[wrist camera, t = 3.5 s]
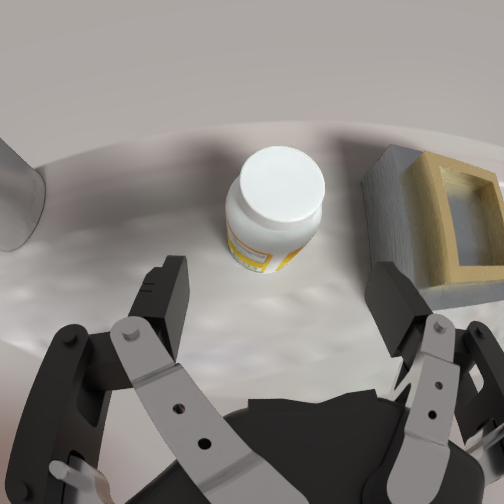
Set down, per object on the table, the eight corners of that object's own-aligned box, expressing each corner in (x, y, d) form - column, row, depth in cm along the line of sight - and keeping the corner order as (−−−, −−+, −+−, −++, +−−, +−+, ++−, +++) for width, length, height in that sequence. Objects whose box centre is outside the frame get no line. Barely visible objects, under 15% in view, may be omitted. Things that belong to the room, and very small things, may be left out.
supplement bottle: (231, 278, 21) (226, 243, 11) (225, 211, 22) (218, 137, 13) (302, 270, 21) (350, 232, 12) (291, 205, 22) (324, 133, 13)
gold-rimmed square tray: (373, 315, 20) (435, 309, 13) (361, 180, 23) (402, 129, 16) (468, 306, 21) (526, 295, 13) (452, 195, 24) (498, 162, 16)
